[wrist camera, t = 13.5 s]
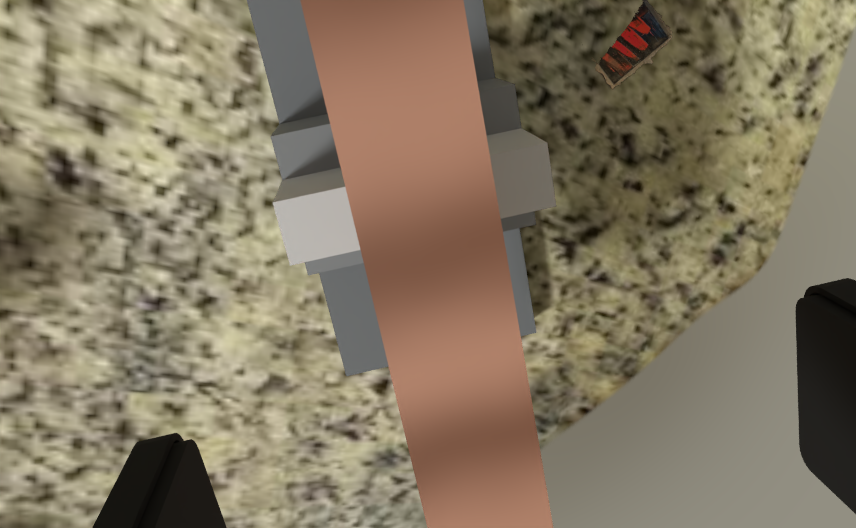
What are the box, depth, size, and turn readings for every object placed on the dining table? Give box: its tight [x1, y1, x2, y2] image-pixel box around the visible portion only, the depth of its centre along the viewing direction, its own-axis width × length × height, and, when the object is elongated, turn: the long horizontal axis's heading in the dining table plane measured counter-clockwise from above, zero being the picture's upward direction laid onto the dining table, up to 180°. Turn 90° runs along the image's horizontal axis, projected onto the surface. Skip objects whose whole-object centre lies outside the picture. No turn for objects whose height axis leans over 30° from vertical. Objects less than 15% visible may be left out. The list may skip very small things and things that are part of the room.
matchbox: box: [581, 0, 672, 89], centre depth 34 cm, size 5×5×1 cm
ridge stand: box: [247, 0, 556, 376], centre depth 30 cm, size 20×10×10 cm, turn 11°
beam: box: [300, 0, 553, 528], centre depth 23 cm, size 22×4×6 cm, turn 11°
